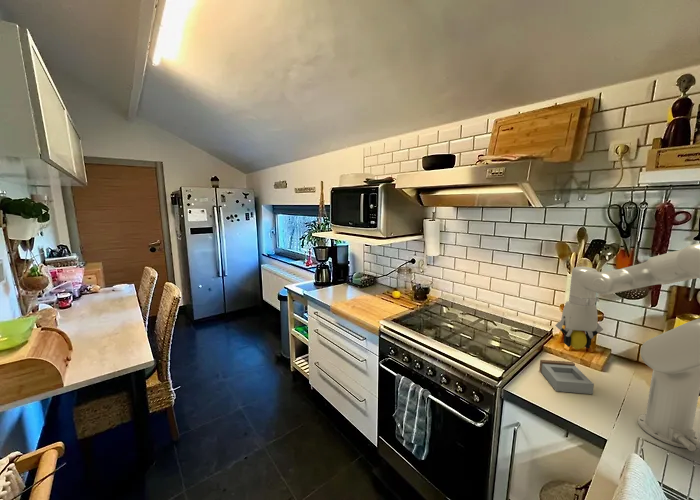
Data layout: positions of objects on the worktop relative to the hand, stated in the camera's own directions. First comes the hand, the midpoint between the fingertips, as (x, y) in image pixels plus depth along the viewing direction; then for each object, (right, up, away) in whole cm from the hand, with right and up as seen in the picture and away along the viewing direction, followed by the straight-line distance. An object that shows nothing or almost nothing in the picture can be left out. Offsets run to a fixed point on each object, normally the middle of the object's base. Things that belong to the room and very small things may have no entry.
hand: (576, 345), depth 111 cm
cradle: (-3, -15, +2) cm, 16 cm away
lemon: (0, -2, 0) cm, 2 cm away
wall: (-1, -14, +9) cm, 17 cm away
